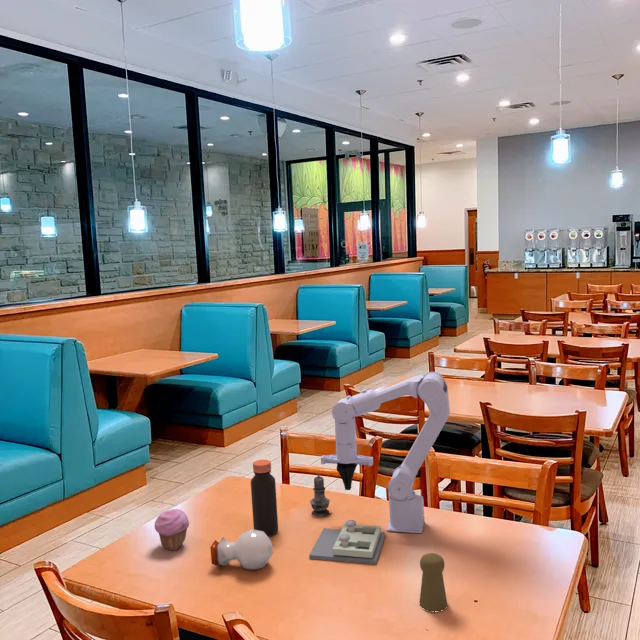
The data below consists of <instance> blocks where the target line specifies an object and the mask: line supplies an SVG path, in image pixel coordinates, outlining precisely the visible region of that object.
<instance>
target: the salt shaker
mask: <svg viewBox="0 0 640 640" xmlns="http://www.w3.org/2000/svg"><path fill="white" fill-rule="evenodd" d="M313 486H314V487H313V488H312V490H313V492H314V494H313V496H314V497H313V498H312V499H310V500H309V504H310V505H311V508H312V509H313V510H312V511H311V515H312V517H313V516H314V517H318V518H321V517H322V518H323V517H326V516H328V515H329V514H330V511H329V509H328V508H329V505H330V502H331V500H330V499H329V498H327V497H326V494H325V493H326V492H325V490H326V487H325V479H324V477H322V476H320V473H318V474H317V476H315V477H314V479H313Z"/></svg>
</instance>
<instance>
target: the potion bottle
mask: <svg viewBox="0 0 640 640" xmlns="http://www.w3.org/2000/svg"><path fill="white" fill-rule="evenodd" d="M238 537H239V538H238V539H237V541H228V540H227V539H225V537H222V538H221V540H220V541H217V539H214V541H213V542H212V544H211V546H210V548H209V549H210V560H211V564H212V565H214V566H216V567H217V566H218V565H221V566H224V567H226V566H227V565H228V564H229V562H231V561H237V562H238V564H240V565H241V567H242V568H243V569H245V570H253V571H257V570H259V569H262V568H264V567H265V566H266V565H268V562H269V561H270V559H271V557H272V555H273V552H274V551H273V549H274V548H273V542H272V539H271V538H270V536H267V535H266V534H265V532H264V531H260V530H255V529H254V528H251V529H248V530H247V531H245V532H243V533H241V534H240V535H239V536H238Z"/></svg>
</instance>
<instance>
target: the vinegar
mask: <svg viewBox="0 0 640 640" xmlns="http://www.w3.org/2000/svg"><path fill="white" fill-rule="evenodd" d="M252 471H253V474H254V476H253V477H252V478H251V480H250V490H251V491H250V493H251V495H250V496H251V508H252V521H253V523H252V524H253V529H255V530H260V531H264V532H265V534H266V535H267V536H268V537H272V536H274V535H276V534H277V533H278V532H279V523H278V522H279V520H278V519H279V518H278V505H277V503H278V501H277V490H276V489H277V488H276V478H275V477H274V476H273V475H272V474H271V471H272V463H271V460H269V459H258V460H255V461H253V462H252Z"/></svg>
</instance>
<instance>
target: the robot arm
mask: <svg viewBox="0 0 640 640" xmlns="http://www.w3.org/2000/svg"><path fill="white" fill-rule="evenodd" d="M404 396H409V397H413V398H415V399H418V397H420V399H421V400H422V401H423V403H424V404H425V405H426V407H427V409H428V411H429V416H428V417H427V419H426V421H425V423H424V424H423V426H422V428H421V430H420V432H419V434H418V435H417V437H416V438H415V440H414V442H413V444H412V446H411V448H410V449H409V451H408V453H407V455H406V456H405V457H404V460H402V463H401V464H400V465H399V466H398V467H396V468H394V470H393V472H392V477H391V479H390V481H389V482H388V483H387V492H388V507H389V509H388V510H389V522H388V524H387V527H386V531H387V532H397V533H398V532H399V533H408V534H409V533H411V534H422V533H423V529H424V524H425V508H424V506H425V504H424V502H425V501H424V496H423V495H418V494H416V492H415V490H414V488H413V485H414V483H415V482H416V481H415V480H416V476H417V474H418V472H419V470H420V468H421V466H422V465H423V463H424V462H425V459H426V457H427V456H428V454H429V453H430V451H431V450H432V447H433V446H434V445H435V442H436V440H437V438H438V437H439V435H440V432H441V431H442V429H443V427H444V426H445V424H446V423H447V421H448V419H449V416H450V411H451V409H450V399H449V387H448V384H447V382H446V380H445V378H444V377H443V375H442V374H441V373H440V372H436V371H429V372H426V373H425V374H423V373H422V374H418V375H415V376H413V377H410V378H407V379H405V380H402V381H399V382H398V383H395V384H393V385H390V386H388V387H385V388H384V389H381V390H378V391H377V390H375V389H372V388H371V389H367V388H363V389H362V390H361V392H360V393H357V394H355V395H352V396H351V395H347V396H346V398H345V397H343V398H341V399H340V400H338V402H337V403H335V404H334V405H333V407H332V410H331V415H332V418H333V419H334V435H335V453H336V454H326V455H325V454H324V455H321V457H320V464H321V465H325V464H332V465H333V464H335V465H336V468H335V469H336V471H337V472H338V474H339V476H340V478H341V480H342V482H343V486H344V490H345V491H351V489H352V485H353V483H352V482H353V478H354V474H355V472H356V468H357V466H358V465H360V466H361V465H363V466H368V467H372V466H373V465H374V457H373V456H366V455H361V454H357V453H358V452H357V435H356V434H357V432H356V419H355V418H356V417H360V416H363V415H365V414H369V413H372V412H374V411H376V410H379V409H380V407H381V404H383V403H386V402H389V401H392V400H395V399H398V398H401V397H402V398H403V397H404Z"/></svg>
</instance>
